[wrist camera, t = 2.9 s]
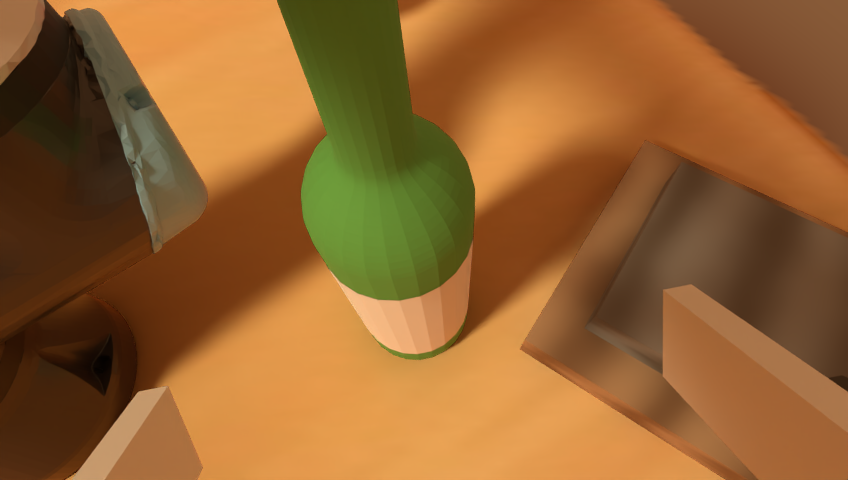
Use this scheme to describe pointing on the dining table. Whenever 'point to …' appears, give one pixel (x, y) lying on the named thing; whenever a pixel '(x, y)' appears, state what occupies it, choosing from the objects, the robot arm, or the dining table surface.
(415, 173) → the wine bottle
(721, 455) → the plinth
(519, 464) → the dining table surface
